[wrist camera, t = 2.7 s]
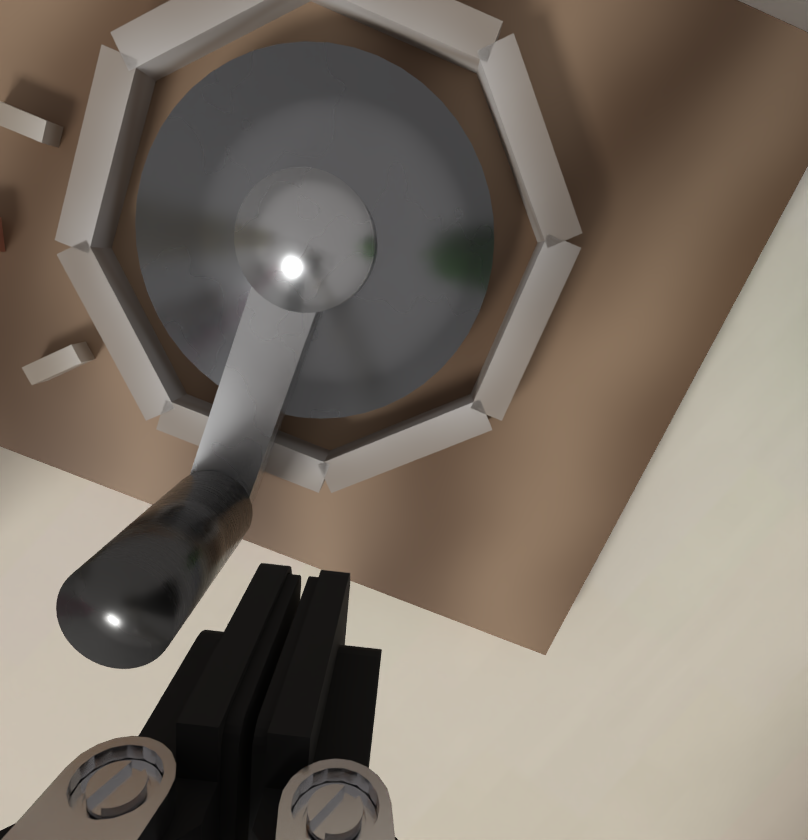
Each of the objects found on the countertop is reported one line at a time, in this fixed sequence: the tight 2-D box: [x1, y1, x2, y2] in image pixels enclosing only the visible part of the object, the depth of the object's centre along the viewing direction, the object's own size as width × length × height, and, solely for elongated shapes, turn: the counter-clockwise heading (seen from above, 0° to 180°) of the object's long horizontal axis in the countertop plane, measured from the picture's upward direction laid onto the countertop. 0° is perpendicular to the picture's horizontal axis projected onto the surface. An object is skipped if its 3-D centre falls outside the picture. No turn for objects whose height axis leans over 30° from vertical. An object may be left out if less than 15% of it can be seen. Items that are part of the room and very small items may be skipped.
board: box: [0, 0, 808, 655], centre depth 18 cm, size 24×20×3 cm
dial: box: [56, 41, 494, 669], centre depth 15 cm, size 14×10×8 cm
